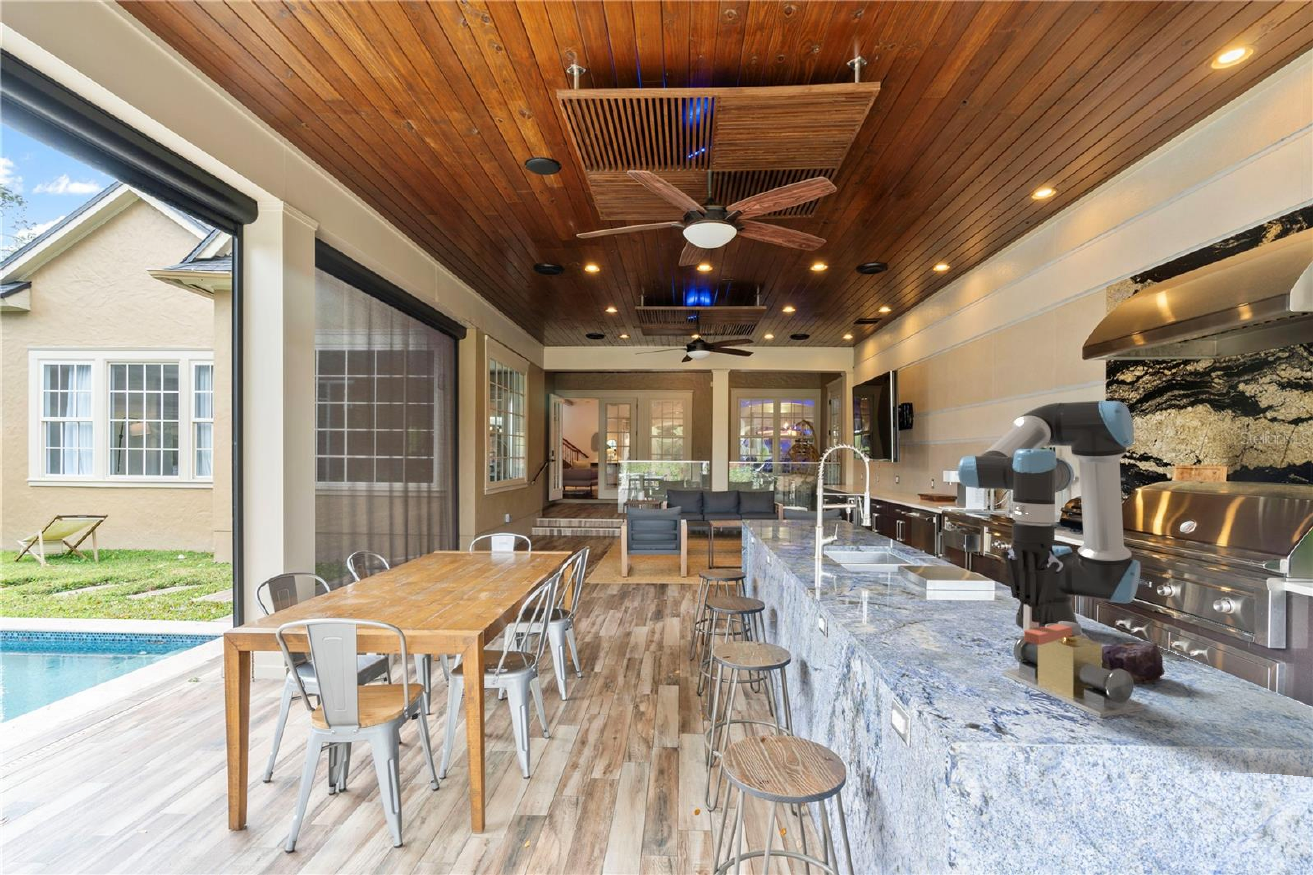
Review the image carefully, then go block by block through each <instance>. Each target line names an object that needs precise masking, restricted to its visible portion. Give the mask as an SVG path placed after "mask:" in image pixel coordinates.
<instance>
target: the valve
mask: <svg viewBox="0 0 1313 875" xmlns="http://www.w3.org/2000/svg"><path fill="white" fill-rule="evenodd" d="M1102 647H1103V643H1100V642H1099V641H1094V640H1091V639H1090V640H1088V639H1085V638H1082V637H1079V636H1074V635H1072V636H1068V637H1065V638H1061V639H1058V640H1056V641H1053V642H1049V643H1046V644H1042V645H1037V644H1034V643H1030V642H1027V641H1024V636H1023V635H1022V636H1021V637H1019V638H1018V639H1017V640H1016V641H1015V643H1014V645H1013V656H1014V659H1015V661H1016V662H1017V663H1018V667H1019V668H1012V669H1005V670H1003V672H1002V675H1003V676H1004V677H1006V678H1009V679H1011V680H1013V681H1016V682H1019V683H1020V684H1022V685H1025V686H1028V687H1029V688H1032V689H1034V690H1036V691H1039V692H1041V693H1043V694H1045V695H1047V696H1050V697H1052V698H1054V699H1057V700H1059V701H1062V702H1064V703H1066V704H1068V705H1070V706H1073V707H1075V708H1077V709H1080V710H1081V711H1084V712H1086V713H1088V714H1091V715H1093V716H1095V717H1097V718H1100V719H1101V718H1108V717H1111V716H1118V715H1119V716H1120V715H1124V714H1125V715H1126V714H1130V713H1135V712H1140V711H1145V710H1146V709H1145V708H1146V706H1145V704H1143V703H1142V702H1139V701H1137V700H1135V699H1131V696H1132V694H1133V692H1134V684H1135V683H1134V682H1133V678H1132V676H1131V674H1130V673H1129V672H1127V671H1125V670H1122V669H1119V668H1117V669H1114V670H1112V671H1110V670H1107V669H1105V668H1102Z"/></svg>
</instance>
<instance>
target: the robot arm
mask: <svg viewBox="0 0 1313 875" xmlns="http://www.w3.org/2000/svg"><path fill="white" fill-rule="evenodd" d="M1134 434H1135V427H1134V423H1133V418H1132V415H1131V412H1130V409H1129V408H1128V406H1127V405H1126V404H1125V403H1123V402H1122V401H1118V400H1117V401H1113V400H1109V401H1108V400H1091V401H1073V402H1053V403H1048V404H1044V405H1041V406H1039V407H1037V408H1034V409H1032V410H1029V411H1027V412H1026V413H1024V414H1022V415H1021V416H1019V417H1018V418H1017V419H1015V420H1014V421H1013V423H1012V425H1011V426H1010V430H1008V432H1006V433H1005V434H1004V435H1003V436H1002V437H1001V438H999V439H998V440H997V441H996V442H995V443H994V444H992V445H991V446H990V447H989V448H988V449H986V450H985V451H984V452H983V453H982V454H981V455H969V456H967V455H966V456H964V457H962V458H961V459H960V461H959V463H958V468H957V475H958V480H959V482H960V485H962V486H964V487H967V488H972V489H973V488H976V489H986V490H1007V491H1008V490H1009V491H1012V520H1014V522H1013V523H1012V525H1011V539H1012V540H1014V541H1013V544H1012V546H1011V548H1010V549H1009V550H1007V551H1006V550H1003V551H1001V552H1002V553H1001V556H1002V558H1003V560H1004V561H1005V566H1006V570H1007V576H1008V580H1009V586H1010V592H1011V597H1012V598H1013V599H1017V600H1018V601H1019V606H1018V610H1017V612H1016V615H1015V624H1016V625H1017V626H1018V627H1020V628H1022V636H1024V631H1026V630H1030V629H1034V628H1038V627H1045V625H1046V624H1058V622H1059V621H1067V622H1073V623H1077V624H1079V621H1078V620H1077V617H1076V614H1075V611H1074V608H1073V605H1072V596H1076V597H1082V598H1088V599H1093V600H1099V601H1105V602H1108V603H1118V604H1119V603H1120V604H1130V603H1131V602H1133V600H1134V598H1135V597H1136V594H1137V592H1138V586H1139V583H1140V578H1141V568H1142V566H1141V562H1140V561H1138V560H1137V559H1133V557H1132V551H1131V550H1130V549H1129V548H1127V547H1126V546H1125V544H1124V543H1125V542H1124V527H1123V526H1124V525H1123V505H1122V503H1123V501H1122V485H1121V483H1122V482H1121V481H1122V480H1121V467H1120V466H1121V465H1120V464H1121V462H1120V460H1121V458H1122V457H1123V456H1124V455H1126V454H1127V448H1129V447H1132V446H1133V445H1134V443H1135V435H1134ZM1045 446H1046V447H1047V446H1056V447H1057V446H1059V447H1061V446H1063V447H1070V449H1071V451H1070V452H1071V455H1072V456H1074V457H1075V458H1076V459H1078V466H1079V468H1078V469H1079V481H1080V482H1079V484H1080V500H1081V516H1082V532H1083V535H1082V536H1083V545H1082V544H1081V546H1080V547H1078V549H1077V552H1073V550H1072V548H1071V547H1070V546H1065V545H1054V543H1055V540H1056V539H1055V534H1056V533H1055V529H1056V528H1055V526H1054V525H1052V524H1054V523H1055V522H1056V493H1058V492H1062V491H1064V490H1066V489H1068V487H1070V486H1071V485H1072V484H1073V481H1074V479H1075V472H1074V469H1073V467H1072V465H1071V464H1070V463H1069V462H1068V461H1067V460H1064V459H1062V458H1059V457H1057V456H1056V452H1055V451H1054V450H1053V449H1042V448H1044V447H1045Z"/></svg>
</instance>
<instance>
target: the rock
mask: <svg viewBox="0 0 1313 875" xmlns="http://www.w3.org/2000/svg"><path fill="white" fill-rule="evenodd" d="M1159 648H1160V647H1159V646H1158V643H1157V642H1155V641H1149V642H1146V641H1145V642H1131V641H1130V642H1123V643H1118V644H1113V643H1111V645H1102V668H1105V669H1107V670H1110V671H1112V670H1114V669H1117V668H1119V669H1122V670H1125V671H1127V672H1129V673H1130V674H1131V676H1132V678H1133V683H1134V684H1142V685H1146V684H1148V683H1149V684H1152V683H1153V682H1159V681H1160V680H1161V677H1162V676H1164V674H1165V669H1164V666H1163V664H1164V660H1163V655H1162V653H1161V650H1160V649H1159Z"/></svg>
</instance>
